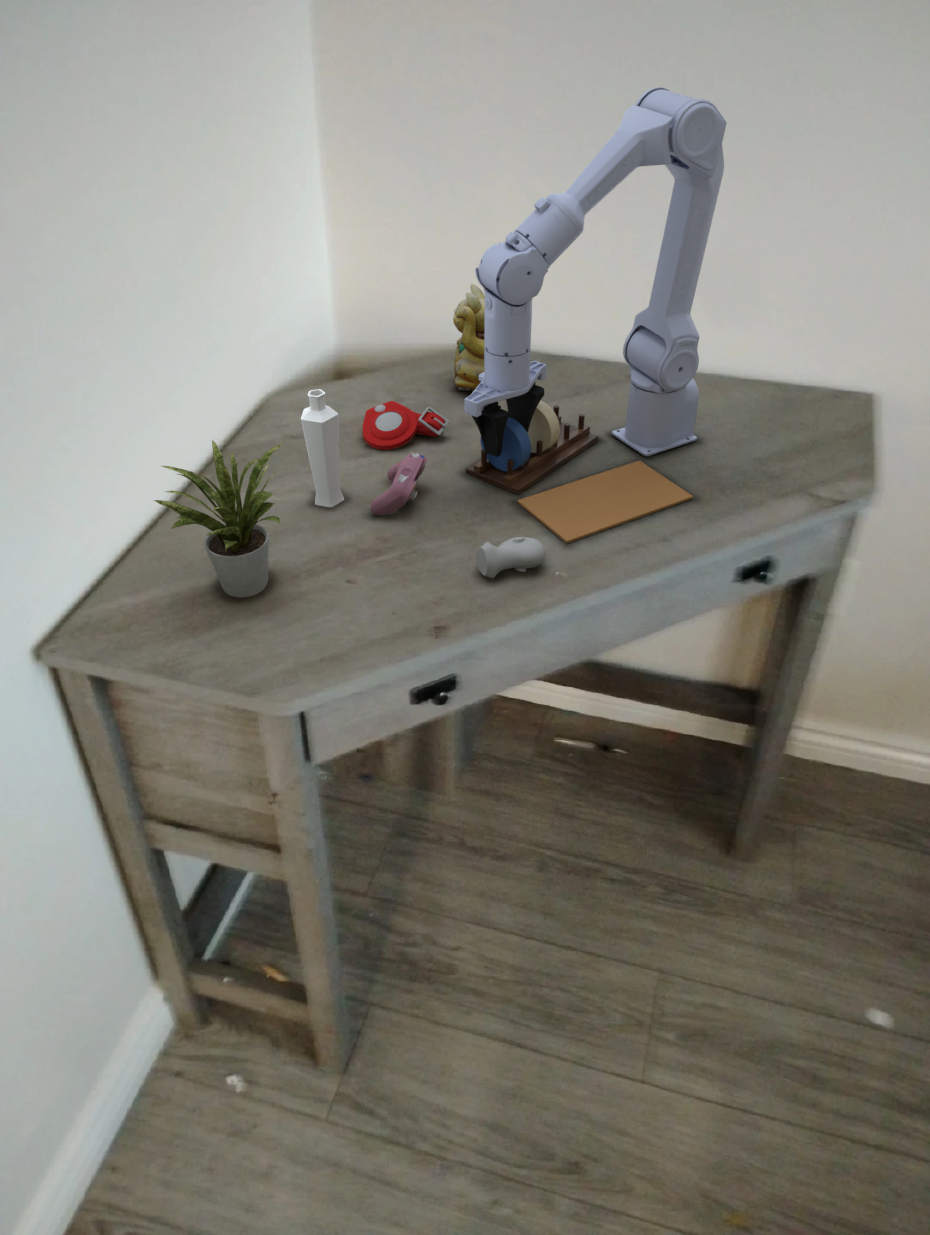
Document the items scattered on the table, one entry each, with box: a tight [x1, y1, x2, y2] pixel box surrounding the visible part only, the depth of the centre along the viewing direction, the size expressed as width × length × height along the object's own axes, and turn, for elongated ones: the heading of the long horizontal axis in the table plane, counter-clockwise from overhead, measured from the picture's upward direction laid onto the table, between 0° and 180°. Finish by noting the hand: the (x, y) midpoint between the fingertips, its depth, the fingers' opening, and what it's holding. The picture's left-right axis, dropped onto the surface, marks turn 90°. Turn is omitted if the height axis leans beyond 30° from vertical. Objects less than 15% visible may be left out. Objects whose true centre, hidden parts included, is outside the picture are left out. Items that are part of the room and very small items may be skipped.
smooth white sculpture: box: [475, 536, 546, 579], centre depth 108 cm, size 4×8×5 cm
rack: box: [464, 404, 599, 496], centre depth 129 cm, size 19×9×4 cm, turn 140°
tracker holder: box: [362, 400, 450, 451], centre depth 135 cm, size 12×4×10 cm
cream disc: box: [527, 400, 560, 453], centre depth 127 cm, size 2×7×7 cm, turn 50°
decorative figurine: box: [452, 283, 485, 393], centre depth 143 cm, size 10×8×15 cm
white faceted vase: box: [300, 388, 345, 508], centre depth 117 cm, size 5×4×15 cm
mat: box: [517, 460, 694, 544], centre depth 121 cm, size 20×11×1 cm, turn 120°
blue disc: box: [480, 417, 531, 472], centre depth 123 cm, size 2×7×7 cm, turn 50°
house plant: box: [152, 439, 285, 598], centre depth 103 cm, size 14×14×16 cm
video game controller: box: [369, 450, 429, 516], centre depth 120 cm, size 10×5×7 cm, turn 168°
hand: (505, 446), depth 123 cm, fingers open, 5 cm apart
